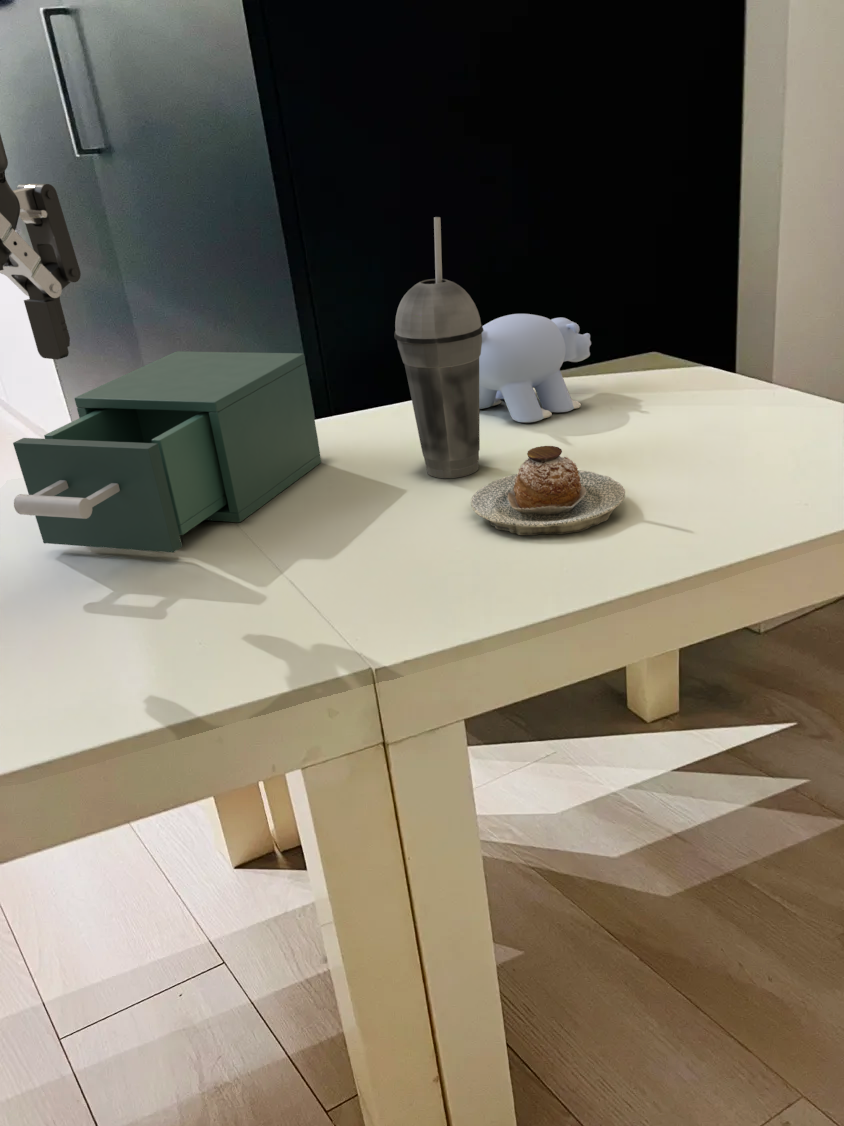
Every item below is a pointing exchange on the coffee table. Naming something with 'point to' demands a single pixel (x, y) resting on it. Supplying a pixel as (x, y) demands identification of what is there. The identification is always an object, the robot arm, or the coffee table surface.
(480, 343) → the beverage cup
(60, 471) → the drawer
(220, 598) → the coffee table surface
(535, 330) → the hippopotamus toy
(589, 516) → the pastry
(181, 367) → the cabinet
